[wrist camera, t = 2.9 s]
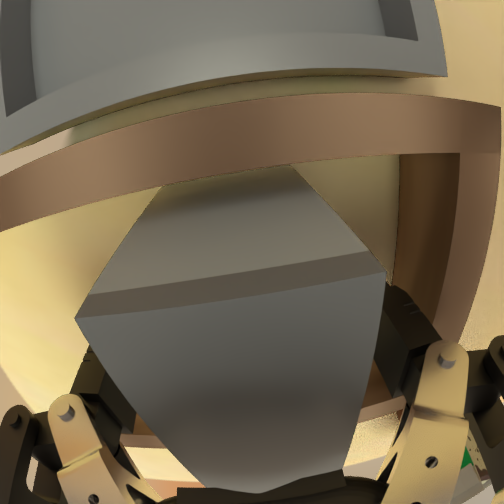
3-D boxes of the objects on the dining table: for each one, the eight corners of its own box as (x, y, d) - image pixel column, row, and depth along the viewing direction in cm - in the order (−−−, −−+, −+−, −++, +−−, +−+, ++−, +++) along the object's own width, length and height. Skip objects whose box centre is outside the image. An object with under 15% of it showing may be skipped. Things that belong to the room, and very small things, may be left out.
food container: (350, 417, 18) (386, 538, 9) (418, 364, 16) (482, 491, 7) (420, 430, 22) (452, 508, 13) (468, 393, 20) (510, 470, 11)
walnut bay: (437, 98, 9) (500, 106, 6) (407, 353, 15) (432, 397, 12) (20, 168, 9) (-37, 197, 6) (130, 396, 15) (119, 446, 12)
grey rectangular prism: (289, 164, 10) (387, 271, 4) (303, 350, 14) (338, 479, 8) (162, 185, 10) (73, 318, 4) (215, 364, 14) (216, 496, 8)
